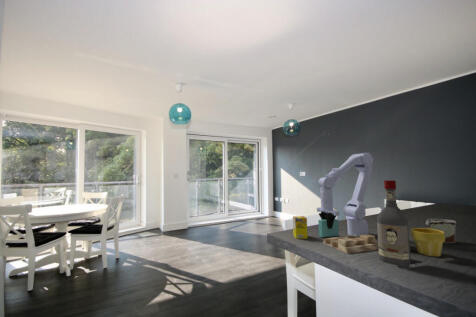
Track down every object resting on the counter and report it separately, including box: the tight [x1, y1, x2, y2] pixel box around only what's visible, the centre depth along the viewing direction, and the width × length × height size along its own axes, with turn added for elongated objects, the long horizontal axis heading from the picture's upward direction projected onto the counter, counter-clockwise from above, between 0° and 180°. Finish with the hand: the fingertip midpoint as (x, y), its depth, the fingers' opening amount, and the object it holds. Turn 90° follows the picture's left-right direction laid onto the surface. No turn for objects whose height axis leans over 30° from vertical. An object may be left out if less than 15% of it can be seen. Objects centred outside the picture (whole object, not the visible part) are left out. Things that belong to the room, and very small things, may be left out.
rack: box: [321, 235, 379, 255], centre depth 102 cm, size 18×16×3 cm
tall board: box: [317, 218, 340, 238], centre depth 116 cm, size 10×2×8 cm, turn 107°
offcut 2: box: [351, 237, 365, 246], centre depth 99 cm, size 5×4×4 cm
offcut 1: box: [337, 238, 354, 252], centre depth 97 cm, size 4×4×4 cm
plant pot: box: [410, 227, 445, 257], centre depth 91 cm, size 10×10×10 cm
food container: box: [425, 218, 458, 244], centre depth 110 cm, size 12×6×10 cm, turn 84°
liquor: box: [376, 179, 412, 269], centre depth 85 cm, size 9×9×30 cm
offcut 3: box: [359, 233, 376, 245], centre depth 100 cm, size 4×4×4 cm
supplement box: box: [292, 215, 308, 240], centre depth 117 cm, size 6×6×11 cm
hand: (327, 227), depth 116 cm, fingers closed on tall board, 2 cm apart
